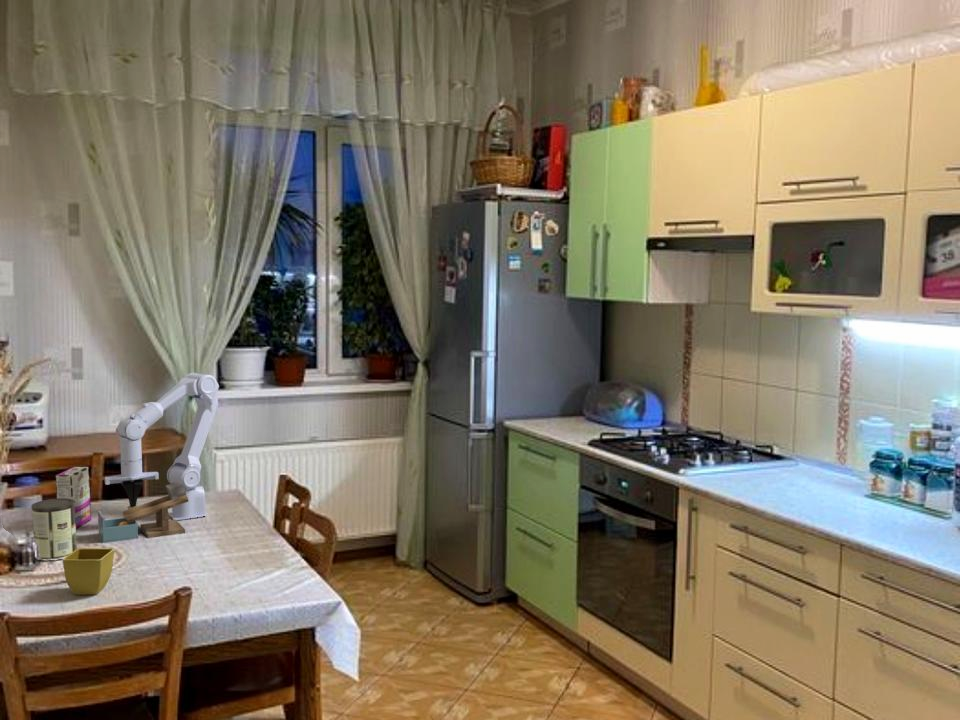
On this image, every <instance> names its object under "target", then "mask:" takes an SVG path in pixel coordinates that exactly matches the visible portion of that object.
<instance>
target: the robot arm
mask: <svg viewBox="0 0 960 720" xmlns="http://www.w3.org/2000/svg"><path fill="white" fill-rule="evenodd" d="M219 388H220V385H219V383H218V381H217V380H216V378H215V377H214V376H213V375H210V374H202V373H197V372H191V373H188V374H186V375H185V376H184V377H182V378H180V380H179V381H178V382H177V384H175V385H174V386H173V387H171V389H170V390H169V391H167V392H166V393H165V394H163V396H162V397H160V398H159V399H158V400H157V401H155V402H154V401H149V402H144V403H143V404H142V407H141V408H139V409H138V410H137V411H135V413H130V415H129V418H123V419H122V420H120V421H119V423H118V425H117V427H116V428H115V432H116V434H117V435H118V438H119V441H120V442H119V443H120V447H119V448H120V450H119V451H120V472H121V473H120V474H117V475H110V476H105V477H104V484H105V485H107V486H108V485H109V486H110V484H111V485H113V484H121V485H122V487H123V489H124V491H125V493H126V496H127V498H128V503H129V506H131V507H135V506H136V504H137V502H138V498H139V494H140V492H141V491H142V487H143V485H144V482H143V481H148V480H159V476H160V475H159V472H158V471H145V472H143V453H142V438H143V437H144V435H145V433H146V430H147V429H148V428H150V427H151V426H153V425H154V424H155V423H156V422H157V421H160V419H161V418H163V415H164V411H165V410H167V409H168V408H170V407H171V406H173V405H174V404H176V402H178V401H180V400H181V399H182V398H183V399H184V397H187V396H191V397H192V398H193V399H194V400H195V402H196V404H197V410H196V413H195V414H194V418H193V421H192V423H191V426H190V429H189V432H188V434H187V437H186V440H185V443H184V444H183V448H182V451H181V454H180V455H179V456H177V457H176V458H175V459H174V462H173V463H172V465H171V466H170V467H169V468H168V470H167V473H166V478H167V481H168V482H169V484H172V483H175V482H177V481H180V482H181V483H182V484H183V485H184V488H185V492H186V495H187V497H188V502H186V503H183V504H180V505H177V506H175V507H172V508H171V513H169V512H168V517H170V518H171V519H172V520H176V521H182V520H190V518H191V519H198V518H204V517H203V516H205V517H207V514H206V494H205V489H204V487H203V485H199V483H200V482H201V481H200V480H201V470H202V464H201V461H200V458H201V455H202V452H203V448H204V446H205V443H206V440H207V438H208V434H209V432H210V429H211V427H212V426H211V425H212V424H213V420H214V418H215V415H216V412H217V409H218V407H219V397H218V390H219ZM197 517H198V518H197Z"/></svg>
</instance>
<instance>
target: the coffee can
mask: <svg viewBox="0 0 960 720" xmlns="http://www.w3.org/2000/svg"><path fill="white" fill-rule="evenodd" d="M31 514H32V532H33V540H34V539H35V540H36V542H37V545H38V550H39V554H40V557H41V558H42V559H46V560H51V559H61V558H65V557H66V556H68V555H69V554H71V553H72V552H73V551H75V550H76V549H78V548H77V532H76V531H77V529H76V526H75V501H74V500H73V499H67V498H58V499H57V498H51V499H50V498H49V499H43V500H40V501H37V502H34V503H32V504H31Z"/></svg>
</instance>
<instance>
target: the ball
mask: <svg viewBox="0 0 960 720" xmlns="http://www.w3.org/2000/svg"><path fill="white" fill-rule="evenodd" d="M123 525H130V523H128V522H126V521H124V522H121V523H120V524H119V526H123Z"/></svg>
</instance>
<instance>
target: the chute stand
mask: <svg viewBox="0 0 960 720" xmlns="http://www.w3.org/2000/svg"><path fill="white" fill-rule="evenodd" d="M155 518H156V519H155V521H154V522H150V523H149V522H147V523H141V524H140V523H139V524H140V525H139V526H140V527H139V528H140V529H141V530H142V532H143V533H144V534H145V536H146V537H147V538H148V539H151V538H158V537H165V536H172V535H177V534H178V535H181V534H185V533H186V528H184V526H183V525H182V524H181V523H179V522H178V520H173V519H172V520H171V519H170V520H169V509H168V507H162V508H161V512H158V513H155Z"/></svg>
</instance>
